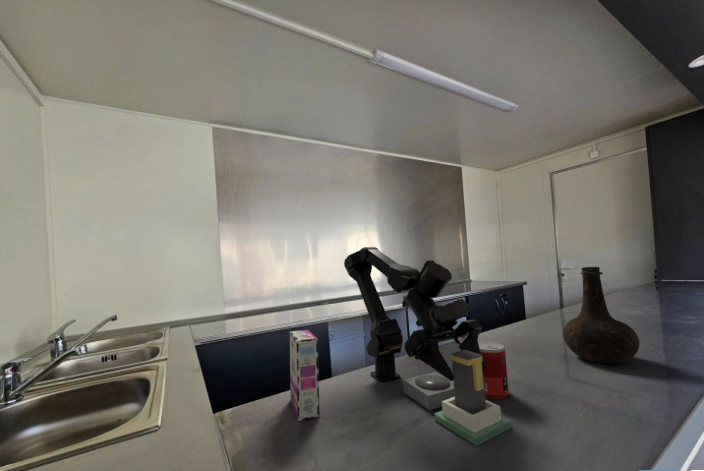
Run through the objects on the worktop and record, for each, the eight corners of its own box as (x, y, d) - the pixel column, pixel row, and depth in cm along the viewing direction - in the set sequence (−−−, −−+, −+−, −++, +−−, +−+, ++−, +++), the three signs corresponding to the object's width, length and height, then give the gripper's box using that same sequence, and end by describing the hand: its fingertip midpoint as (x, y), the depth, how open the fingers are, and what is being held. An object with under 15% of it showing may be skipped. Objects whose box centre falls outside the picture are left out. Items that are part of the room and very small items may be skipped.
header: (434, 419, 58) (433, 400, 59) (467, 406, 63) (466, 388, 64) (476, 445, 50) (474, 423, 50) (511, 427, 54) (509, 407, 55)
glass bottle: (580, 368, 81) (568, 268, 84) (556, 349, 98) (546, 267, 101) (660, 372, 76) (644, 266, 79) (619, 351, 93) (608, 265, 96)
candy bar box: (321, 417, 61) (318, 338, 63) (297, 423, 60) (295, 341, 61) (310, 395, 72) (308, 328, 73) (290, 400, 70) (288, 330, 72)
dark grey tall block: (455, 415, 57) (451, 353, 58) (469, 409, 59) (464, 349, 60) (476, 426, 53) (470, 359, 54) (490, 420, 55) (484, 355, 56)
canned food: (513, 400, 65) (508, 350, 66) (476, 399, 66) (471, 349, 67) (503, 386, 72) (499, 341, 73) (469, 385, 74) (465, 340, 75)
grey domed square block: (403, 392, 71) (402, 377, 72) (436, 383, 75) (435, 370, 76) (429, 410, 62) (428, 393, 62) (464, 399, 66) (463, 384, 66)
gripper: (409, 291, 59) (457, 362, 48) (471, 284, 68) (523, 343, 57) (389, 324, 65) (427, 393, 54) (448, 313, 74) (490, 371, 63)
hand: (469, 374), depth 57 cm, fingers open, 9 cm apart
